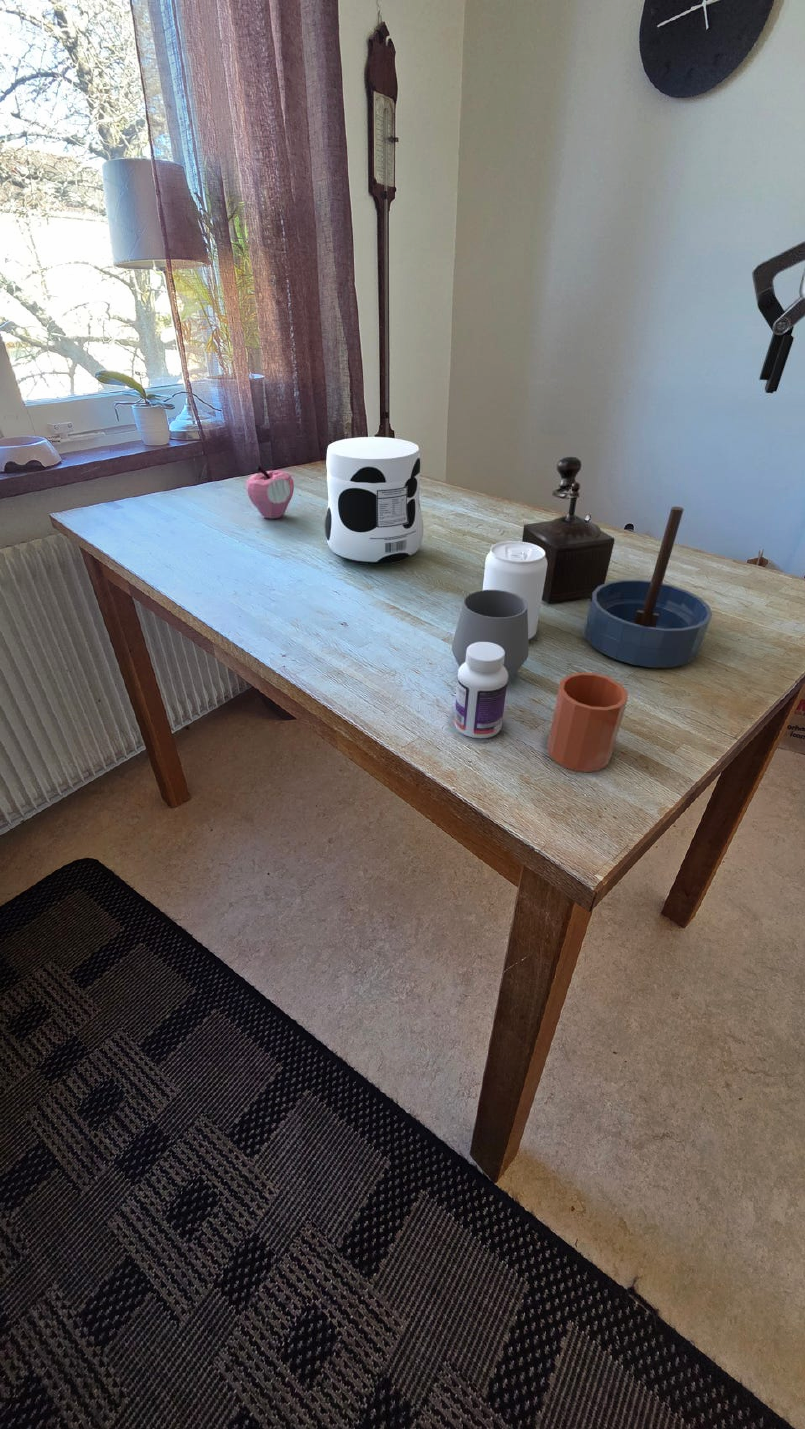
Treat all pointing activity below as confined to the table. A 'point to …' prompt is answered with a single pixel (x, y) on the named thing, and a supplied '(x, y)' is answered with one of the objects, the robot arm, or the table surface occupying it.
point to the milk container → (373, 500)
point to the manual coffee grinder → (571, 545)
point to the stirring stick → (660, 570)
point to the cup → (494, 626)
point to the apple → (270, 492)
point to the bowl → (640, 644)
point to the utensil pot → (586, 721)
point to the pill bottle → (481, 691)
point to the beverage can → (518, 575)
